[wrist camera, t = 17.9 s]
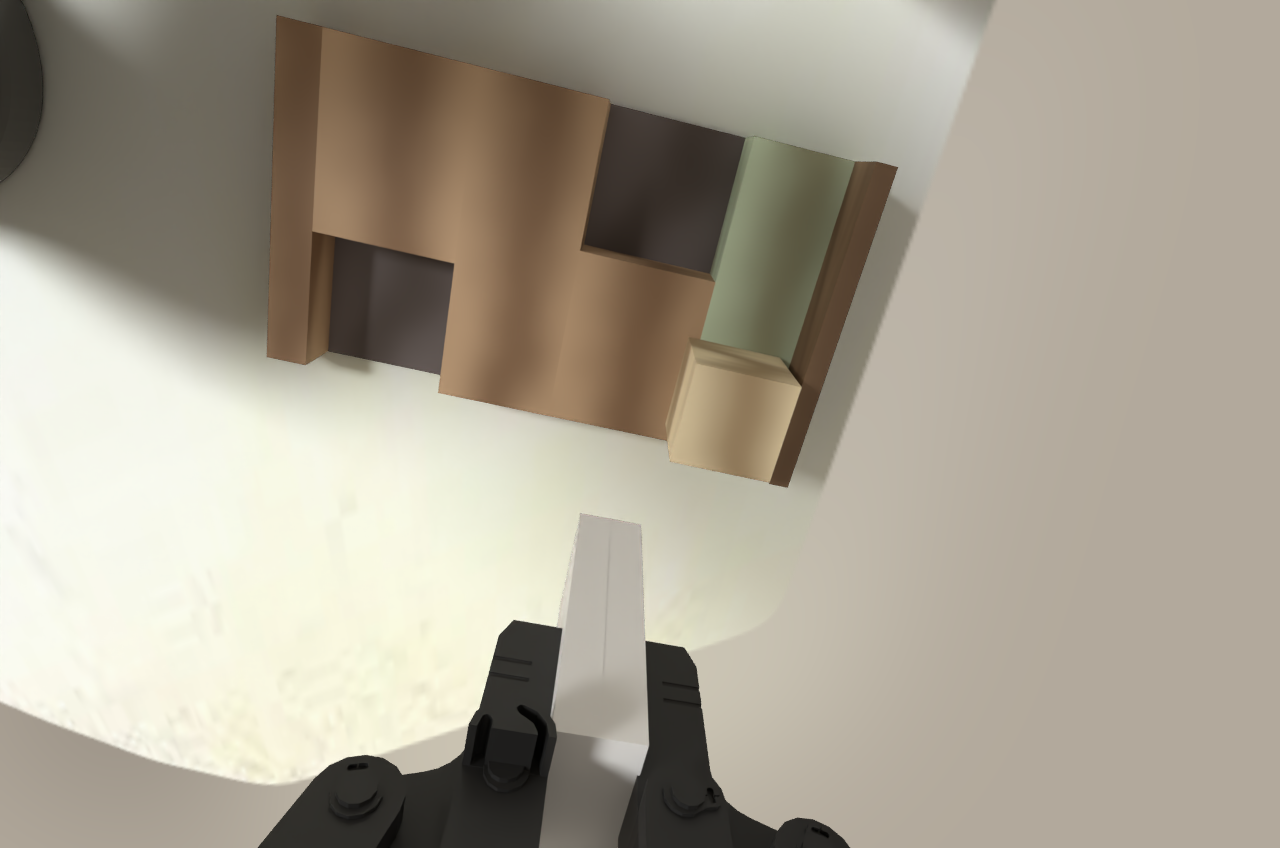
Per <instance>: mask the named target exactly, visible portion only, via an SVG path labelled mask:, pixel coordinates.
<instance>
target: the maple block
mask: <svg viewBox="0 0 1280 848" xmlns="http://www.w3.org/2000/svg"><path fill="white" fill-rule="evenodd" d="M801 388H802V387H801V386H800V384H799V383H798V382H797V380H796V379H795V378H794V376H793V375H792V373H791V372H790V371H789V369H788V368H787V367H786V365H785V364H784V363H783V361H782V360H781V359H780V358H779V357H775V356H771V355H766V354H762V353H757V352H753V351H749V350H744V349H740V348H736V347H731V346H727V345H722V344H718V343H714V342H709V341H705V340H701V339H696V338H692V337H688V340H687V344H686V348H685V351H684V355H683V359H682V363H681V367H680V370H679V374H678V378H677V382H676V385H675V389H674V393H673V397H672V400H671V404H670V408H669V412H668V415H667V419H666V423H665V425H666V433H667V442H668V451H669V459H670V462H674V463H679V464H684V465H688V466H693V467H698V468H703V469H707V470H712V471H717V472H722V473H726V474H731V475H736V476H741V477H745V478H750V479H755V480H760V481H764V482H769V483H770V480H771V477H772V474H773V471H774V468H775V465H776V462H777V459H778V456H779V453H780V450H781V447H782V444H783V441H784V438H785V435H786V432H787V429H788V426H789V423H790V420H791V417H792V415H793V412H794V409H795V406H796V403H797V400H798V397H799V394H800V391H801Z"/></svg>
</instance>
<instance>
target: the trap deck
mask: <svg viewBox="0 0 1280 848" xmlns="http://www.w3.org/2000/svg"><path fill="white" fill-rule="evenodd" d="M897 169H898V167H895V166H891V165H887V164H883V163H879V162H855V161H851V160H847V159H843V158H839V157H835V156H831V155H827V154H823V153H819V152H815V151H811V150H807V149H803V148H799V147H796V146H792V145H788V144H784V143H780V142H776V141H772V140H768V139H764V138H760V137H756V136H753V137H748V138H743V137H740V136H736V135H732V134H728V133H724V132H720V131H716V130H712V129H708V128H704V127H700V126H696V125H692V124H688V123H684V122H680V121H676V120H672V119H668V118H664V117H660V116H656V115H652V114H648V113H645V112H641V111H637V110H633V109H629V108H625V107H621V106H617V105H613V104H611V103H610V100H609V99H606V98H602V97H598V96H594V95H590V94H586V93H582V92H578V91H574V90H570V89H566V88H563V87H559V86H555V85H551V84H547V83H543V82H539V81H535V80H531V79H527V78H523V77H519V76H515V75H511V74H507V73H503V72H499V71H495V70H491V69H488V68H484V67H480V66H476V65H472V64H468V63H464V62H460V61H456V60H452V59H448V58H444V57H440V56H436V55H432V54H428V53H424V52H420V51H416V50H413V49H409V48H405V47H401V46H397V45H393V44H389V43H385V42H381V41H377V40H373V39H369V38H365V37H361V36H357V35H353V34H349V33H345V32H341V31H337V30H334V29H330V28H326V27H322V26H318V25H314V24H310V23H306V22H302V21H298V20H294V19H290V18H286V17H282V16H278V15H277V17H276V52H275V87H274V123H273V158H272V193H271V228H270V264H269V299H268V334H267V357H270V358H274V359H279V360H284V361H289V362H293V363H298V364H303V365H306V364H308V363H310V362H311V361H313V360H315V359H316V358H318V357H319V356H321V355H323V354H324V353H326V352H327V351H330V352H335V353H340V354H344V355H349V356H354V357H358V358H363V359H368V360H373V361H377V362H382V363H387V364H392V365H396V366H401V367H406V368H410V369H415V370H420V371H425V372H429V373H434V374H439V375H440V383H439V391H438V393H442V394H446V395H451V396H456V397H461V398H466V399H470V400H475V401H480V402H485V403H489V404H494V405H499V406H504V407H509V408H513V409H518V410H523V411H528V412H532V413H537V414H542V415H547V416H552V417H556V418H561V419H566V420H571V421H576V422H580V423H585V424H590V425H595V426H599V427H604V428H609V429H614V430H619V431H623V432H628V433H633V434H638V435H642V436H647V437H652V438H657V439H662V440H666V441H667V433H666V425H665V423H666V419H667V415H668V412H669V408H670V404H671V400H672V397H673V393H674V389H675V385H676V382H677V378H678V374H679V370H680V367H681V363H682V359H683V355H684V351H685V348H686V344H687V340H688V337H692V338H696V339H701V340H705V341H709V342H714V343H718V344H722V345H727V346H731V347H736V348H740V349H744V350H749V351H753V352H757V353H762V354H766V355H771V356H775V357H779V358H780V359H781V360H782V361H783V363H784V364H785V365H786V367H787V368H788V369H789V371H790V372H791V373H792V375H793V376H794V378H795V379H796V380H797V382H798V383H799V384H800V386H801V387H802V388H801V391H800V394H799V397H798V400H797V403H796V406H795V409H794V412H793V415H792V417H791V420H790V423H789V426H788V429H787V432H786V435H785V438H784V441H783V444H782V447H781V450H780V453H779V456H778V459H777V462H776V465H775V468H774V471H773V474H772V477H771V480H770V483H769V484H772V485H777V486H782V487H787V488H788V485H789V482H790V479H791V476H792V474H793V471H794V468H795V465H796V462H797V459H798V456H799V453H800V450H801V447H802V445H803V442H804V439H805V436H806V433H807V430H808V427H809V424H810V421H811V418H812V415H813V413H814V410H815V407H816V404H817V401H818V398H819V395H820V392H821V389H822V386H823V384H824V381H825V378H826V375H827V372H828V369H829V366H830V363H831V360H832V357H833V354H834V352H835V349H836V346H837V343H838V340H839V337H840V334H841V331H842V328H843V325H844V323H845V320H846V317H847V314H848V311H849V308H850V305H851V302H852V299H853V296H854V293H855V291H856V288H857V285H858V282H859V279H860V276H861V273H862V270H863V267H864V264H865V262H866V259H867V256H868V253H869V250H870V247H871V244H872V241H873V238H874V235H875V232H876V230H877V227H878V224H879V221H880V218H881V215H882V212H883V209H884V206H885V203H886V201H887V198H888V195H889V192H890V189H891V186H892V183H893V180H894V177H895V174H896V171H897Z"/></svg>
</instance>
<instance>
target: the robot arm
mask: <svg viewBox="0 0 1280 848" xmlns="http://www.w3.org/2000/svg"><path fill="white" fill-rule="evenodd" d="M42 93H43V85H42V71H41V62H40V57H39V52H38V47H37V43H36V39H35V36H34V33H33V29H32V26H31V23H30V21H29V18H28V15H27V13H26V10H25V8H24V6H23V3H22V1H21V0H0V182H1V181H3V180H4V179H5V178H6V177H8V176H9V175H10V174H11V173H12V172H13V171H14V170H15V169H16V168H17V166H18V165H19V164H20V163H21V161H22V160H23V158H24V157H25V155H26V154H27V152H28V150H29V148H30V146H31V144H32V142H33V140H34V137H35V134H36V131H37V128H38V124H39V120H40V115H41V108H42ZM258 848H850V847H849V846H848V844H847V843H846V842H845V840H844V839H843V838H842V837H841V836H839V835H838V834H837V833H836V832H834V831H833V830H832V829H831V828H830V827H828V826H826V825H824V824H822V823H820V822H817V821H815V820H813V819H804V818H795V819H792V820H789V821H786V822H785V823H784V824H783V825H782V826H781V827H780V828H779V830H778V831H777V830H775V829H772V828H770V827H768V826H766V825H764V824H762V823H760V822H758V821H755V820H753V819H751V818H749V817H747V816H746V815H744V814H742V813H740V812H739V811H737V810H736V809H735V808H734V807H732V806H731V805H730V804H729V803H728V802H727V801H726V800H725V798H724V795H723V792H722V790H721V788H720V787H719V786H718V784H717V783H716V782H715V780H714V779H713V778H712V775H711V772H710V766H709V758H708V751H707V743H706V736H705V729H704V722H703V713H702V709H701V698H700V692H699V683H698V677H697V668H696V666H695V664H694V663H693V661H692V659H691V658H690V656H689V654H688V653H687V651H686V650H685V648H683V647H678V646H672V645H666V644H660V643H654V642H649V641H645V619H644V591H643V563H642V535H641V525H640V524H635V523H630V522H625V521H619V520H614V519H609V518H603V517H598V516H593V515H588V514H582V513H580V517H579V522H578V526H577V531H576V535H575V540H574V545H573V549H572V554H571V558H570V563H569V567H568V572H567V576H566V581H565V585H564V590H563V595H562V599H561V604H560V610H559V616H558V623H557V627H551V626H546V625H540V624H534V623H528V622H522V621H516V620H513V621H512V622H511V624H510V625H509V626H508V627H507V628H506V629H505V630H504V631H503V632H502V633H501V634H500V635H499V637H498V641H497V645H496V648H495V652H494V656H493V660H492V663H491V667H490V671H489V675H488V678H487V682H486V686H485V689H484V693H483V697H482V701H481V704H480V708H479V710H477V711H476V712H475V714H474V716H473V718H472V719H471V721H470V723H469V726H468V732H467V739H466V744H465V749H464V751H463V752H462V753H461V755H459V756H458V757H457V758H455V759H454V760H453V761H452V762H451V763H448V764H446V765H444V766H442V767H440V768H438V769H434V770H430V771H425V772H419V773H412V774H406V775H402V774H401V773H400V771H399V770H398V768H397V767H396V766H395V765H393V764H392V763H390V762H389V761H387V760H385V759H384V758H380V757H374V756H369V755H362V756H355V757H347V758H345V759H343V760H340V761H338V762H336V763H334V764H332V765H329V766H328V767H327V768H326V769H325V770H324V771H322V772H321V773H320V774H319V775H318V776H317V777H316V778H314V780H313V781H312V782H311V783H310V785H309V786H308V787H307V788H306V789H305V791H304V792H303V793H302V794H301V796H300V797H299V798H298V799H297V800H296V802H295V803H294V804H293V805H292V807H291V808H290V809H289V810H288V811H287V813H286V814H285V815H284V816H283V818H282V819H281V820H280V821H279V822H278V824H277V825H276V826H275V827H274V828H273V830H272V831H271V832H270V833H269V835H268V836H267V837H266V838H265V839H264V841H263V842H262V843H261V844H260V845H259V847H258Z"/></svg>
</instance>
